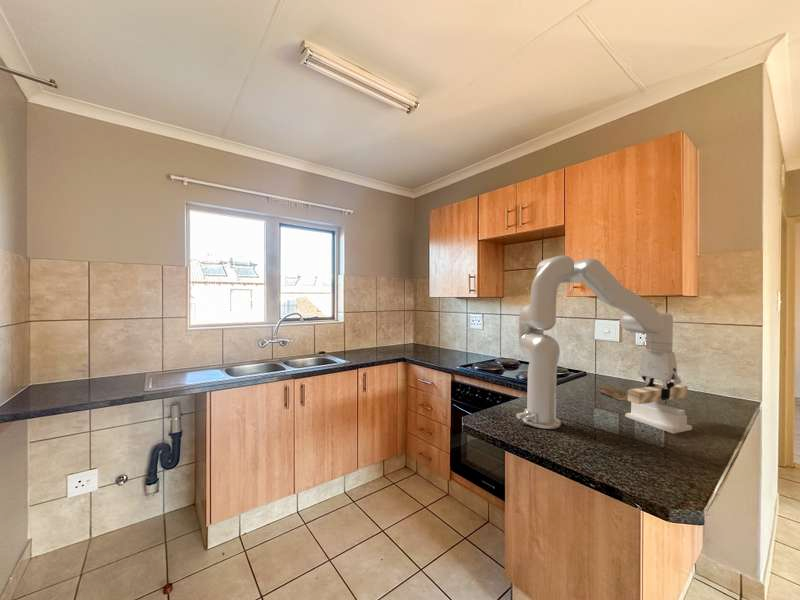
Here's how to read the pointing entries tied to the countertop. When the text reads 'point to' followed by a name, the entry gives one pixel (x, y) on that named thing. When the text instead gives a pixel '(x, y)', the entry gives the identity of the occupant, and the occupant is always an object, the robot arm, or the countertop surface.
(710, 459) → the countertop surface
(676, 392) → the birch rod
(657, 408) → the ridge stand
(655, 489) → the countertop surface
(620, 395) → the wooden fragment
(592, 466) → the countertop surface
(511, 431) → the countertop surface
